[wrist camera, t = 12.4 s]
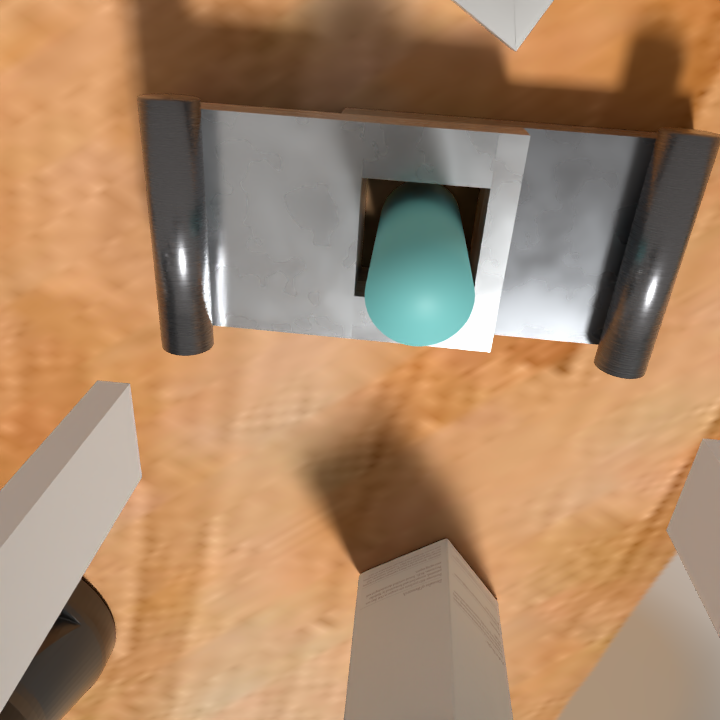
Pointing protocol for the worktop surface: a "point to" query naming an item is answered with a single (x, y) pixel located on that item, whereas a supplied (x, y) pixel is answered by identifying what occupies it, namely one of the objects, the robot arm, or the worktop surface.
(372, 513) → the worktop surface
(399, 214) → the pin
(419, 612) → the supplement box
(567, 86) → the worktop surface
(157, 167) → the plate with side rollers
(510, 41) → the picture frame
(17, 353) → the worktop surface
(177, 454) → the worktop surface
